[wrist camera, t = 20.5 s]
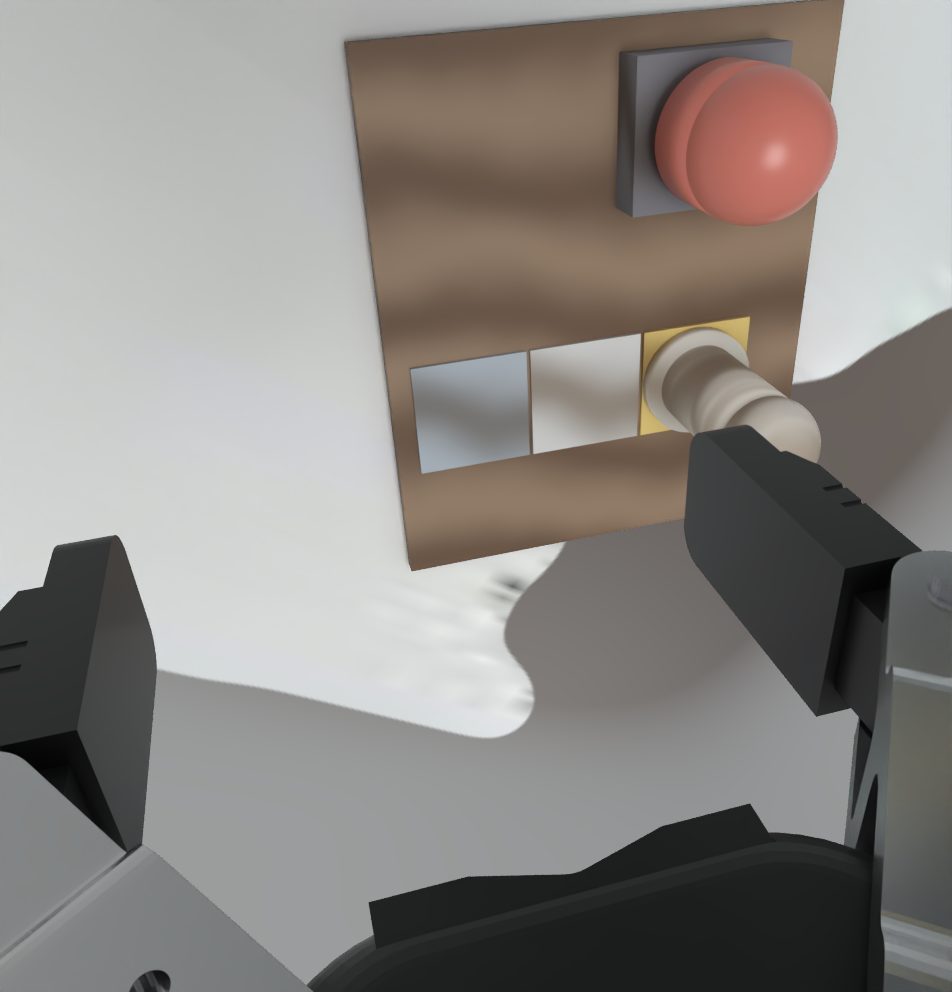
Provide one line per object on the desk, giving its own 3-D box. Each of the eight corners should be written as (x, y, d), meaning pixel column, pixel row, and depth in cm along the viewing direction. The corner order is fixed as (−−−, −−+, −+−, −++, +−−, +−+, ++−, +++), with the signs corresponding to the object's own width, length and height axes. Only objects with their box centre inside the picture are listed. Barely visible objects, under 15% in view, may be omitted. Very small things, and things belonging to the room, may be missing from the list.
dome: (658, 64, 36) (729, 80, 31) (793, 50, 37) (883, 64, 32) (651, 215, 39) (715, 252, 34) (776, 199, 40) (856, 232, 35)
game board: (344, 41, 36) (353, 47, 34) (834, -2, 40) (872, 0, 38) (408, 563, 50) (418, 592, 47) (769, 493, 54) (794, 517, 51)
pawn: (645, 334, 45) (742, 418, 37) (747, 320, 46) (864, 398, 38) (640, 433, 48) (728, 531, 39) (736, 417, 49) (842, 510, 40)
